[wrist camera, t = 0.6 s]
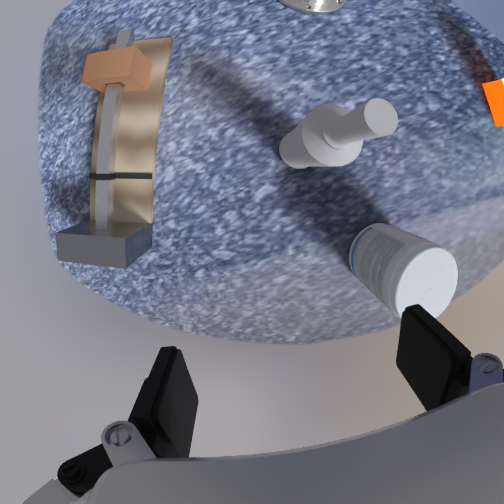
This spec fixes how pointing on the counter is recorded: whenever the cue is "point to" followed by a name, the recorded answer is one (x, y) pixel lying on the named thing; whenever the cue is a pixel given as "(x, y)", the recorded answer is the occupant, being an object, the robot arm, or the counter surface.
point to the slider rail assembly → (106, 199)
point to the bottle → (336, 134)
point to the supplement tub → (403, 269)
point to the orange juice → (496, 100)
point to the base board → (135, 140)
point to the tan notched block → (117, 69)
